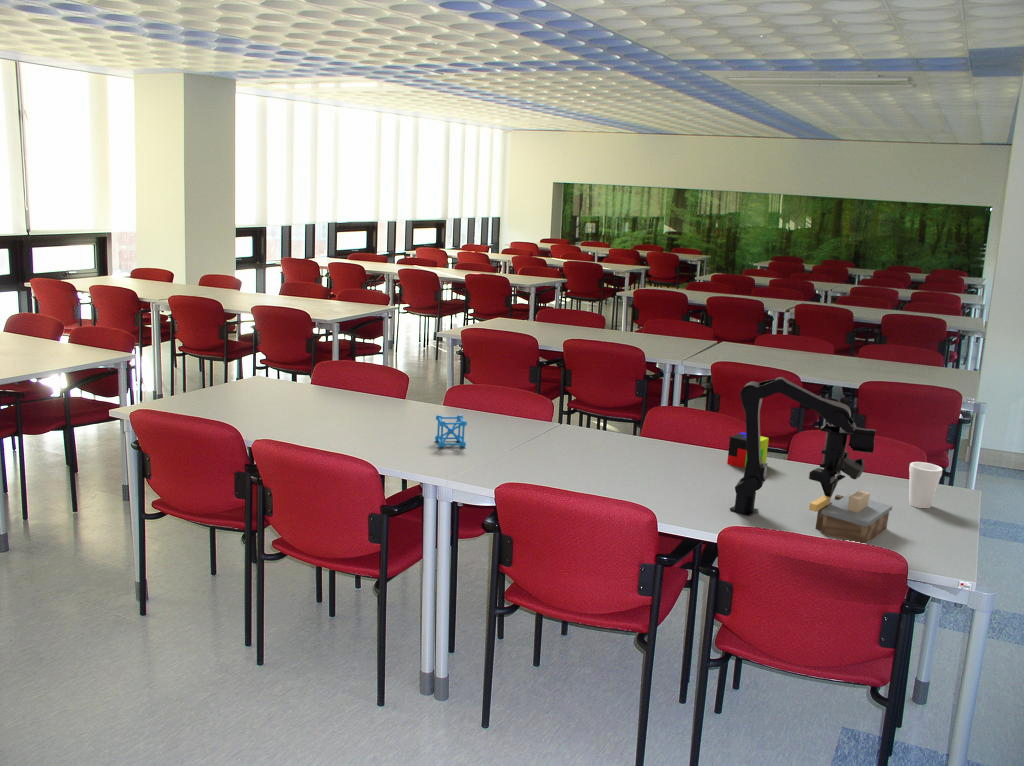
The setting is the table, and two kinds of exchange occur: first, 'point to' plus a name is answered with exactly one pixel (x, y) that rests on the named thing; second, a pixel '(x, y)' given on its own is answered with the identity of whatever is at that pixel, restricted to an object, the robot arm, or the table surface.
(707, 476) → the table surface
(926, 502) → the foam cup
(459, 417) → the molecular structure
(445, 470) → the table surface
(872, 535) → the brown wooden box
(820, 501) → the yellow wooden bar
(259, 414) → the table surface
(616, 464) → the table surface
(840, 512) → the lid
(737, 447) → the puzzle toy
